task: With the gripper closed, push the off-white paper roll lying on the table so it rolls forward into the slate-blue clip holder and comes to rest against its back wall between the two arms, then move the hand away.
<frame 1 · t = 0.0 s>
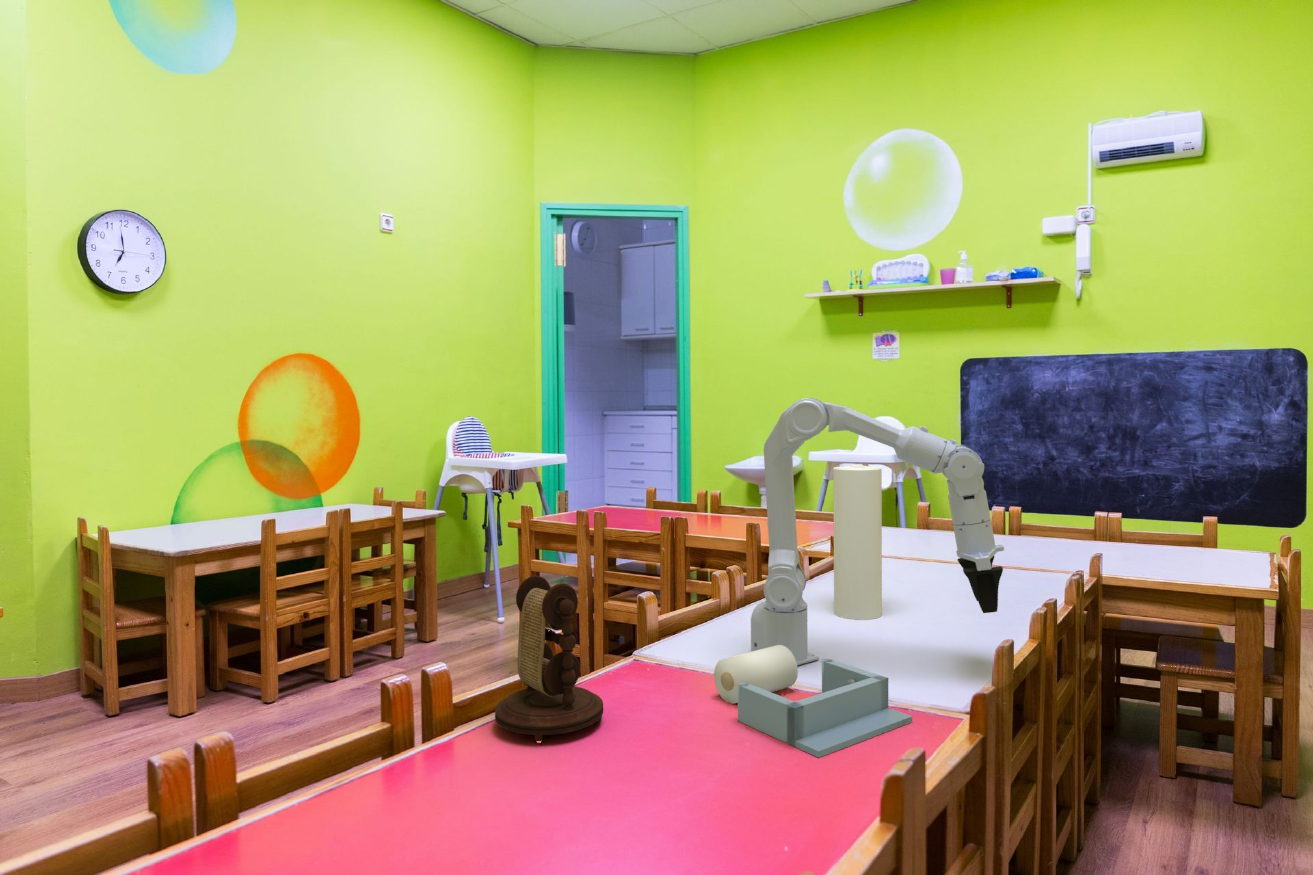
hand: (986, 605, 134), 11 cm above the table, tool pointing down, fingers open, 7 cm apart
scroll: (549, 725, 116), on the table
cylinder container: (857, 614, 171), on the table
roll: (756, 673, 126), point 3 cm above the table
holder: (810, 715, 117), on the table
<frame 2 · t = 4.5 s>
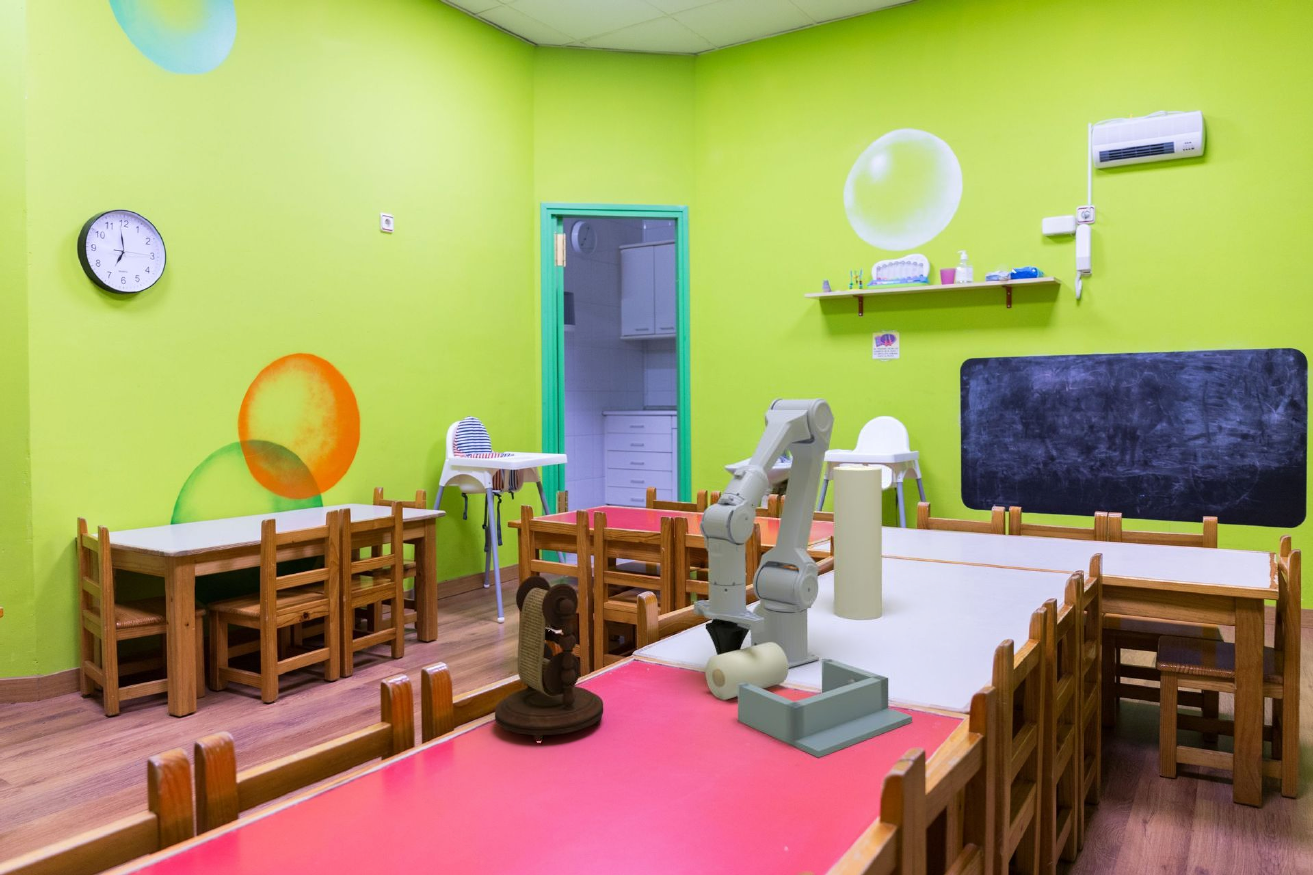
hand: (728, 668, 131), 2 cm above the table, tool pointing down, fingers closed
roll: (747, 670, 128), point 3 cm above the table, tilted 37°
everything else where it was.
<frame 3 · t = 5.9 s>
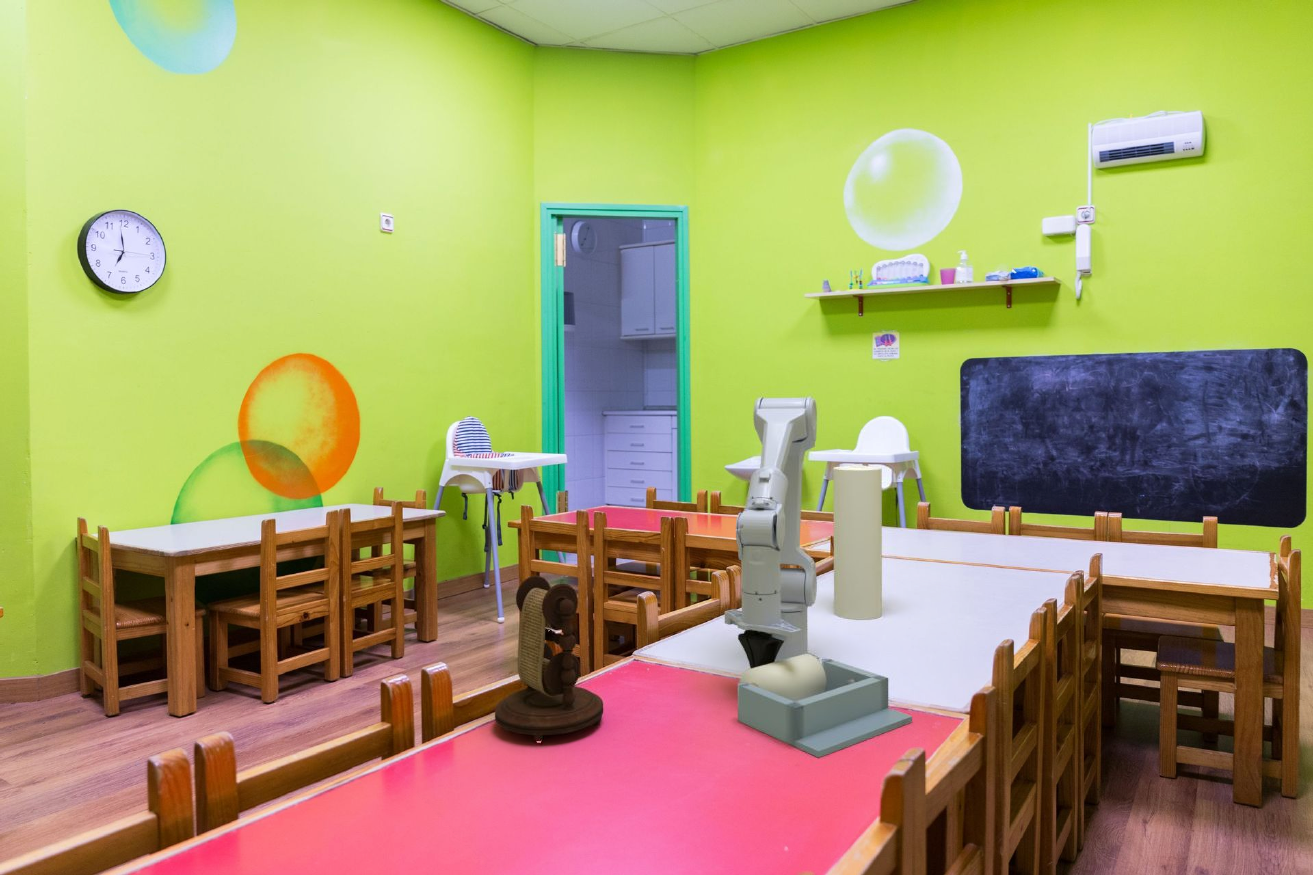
hand: (761, 681, 125), 2 cm above the table, tool pointing down, fingers closed
roll: (783, 683, 121), point 3 cm above the table, tilted 103°
everything else where it was.
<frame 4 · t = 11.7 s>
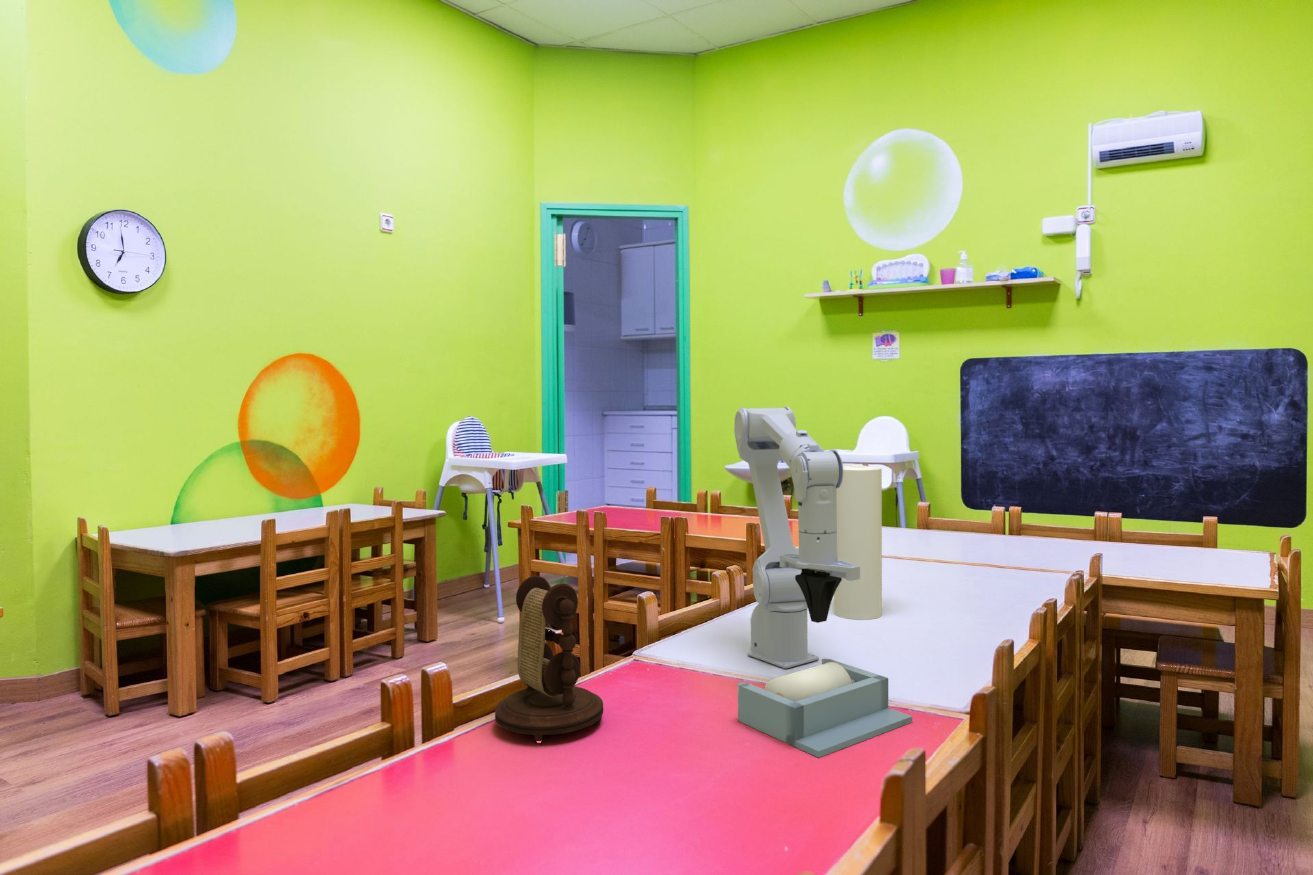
hand: (819, 620, 127), 10 cm above the table, tool pointing down, fingers closed
roll: (808, 693, 117), point 3 cm above the table, tilted 165°
everything else where it was.
at the end: roll inside the target area on the holder (0.7 cm from its centre), point 3.1 cm above the holder's base; roll moved 10.7 cm from its start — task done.
